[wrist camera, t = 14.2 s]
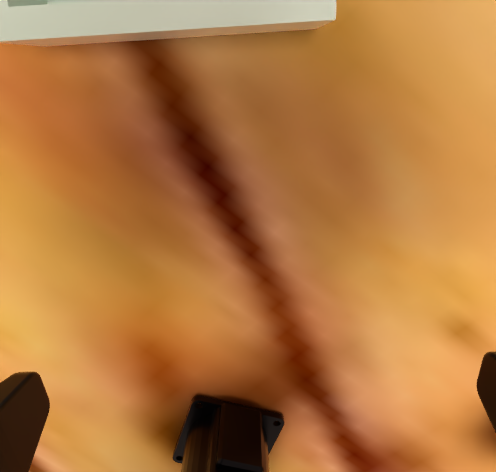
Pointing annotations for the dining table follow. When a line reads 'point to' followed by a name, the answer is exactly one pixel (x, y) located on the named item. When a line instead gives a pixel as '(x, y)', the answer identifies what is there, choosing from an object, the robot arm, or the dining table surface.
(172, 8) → the tray
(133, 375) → the dining table surface
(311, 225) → the dining table surface
